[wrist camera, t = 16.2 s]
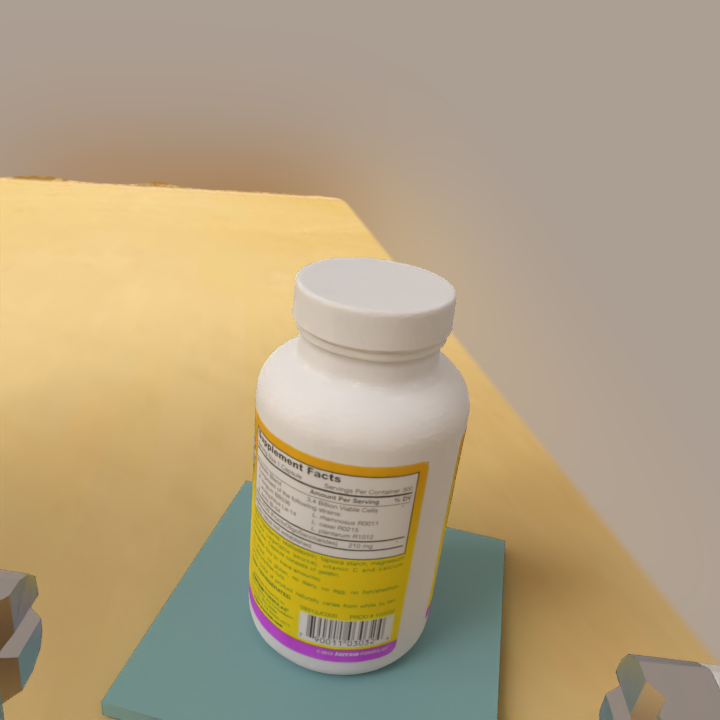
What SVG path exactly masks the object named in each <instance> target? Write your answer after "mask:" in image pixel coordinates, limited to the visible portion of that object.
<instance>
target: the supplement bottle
mask: <svg viewBox="0 0 720 720" xmlns="http://www.w3.org/2000/svg"><path fill="white" fill-rule="evenodd" d="M455 304H456V292H455V289H454V288H453V286H452V285H451V284H450V283H449V282H448V281H447V280H445V279H443V278H442V277H440V276H439V275H437V274H435V273H432V272H430V271H428V270H425V269H423V268H419V267H415V266H412V265H407V264H403V263H398V262H394V261H389V260H383V259H374V258H332V259H326V260H321V261H317V262H314V263H311V264H309V265H307V266H305V267H303V268H302V269H301V270H300V271H299V272H298V273H297V275H296V279H295V291H294V302H293V308H292V314H293V317H294V319H295V321H296V325H297V328H298V330H299V336H297V337H295V338H292V339H291V340H289V341H287V342H286V343H284V344H283V345H281V346H280V347H278V348H277V349H276V350H275V351H274V352H273V353H272V354H271V355H270V356H269V358H268V359H267V360H266V362H265V363H264V365H263V367H262V369H261V371H260V374H259V377H258V381H257V388H256V407H255V436H254V464H253V489H252V516H251V537H250V564H249V606H250V611H251V614H252V618H253V621H254V623H255V625H256V627H257V629H258V631H259V633H260V634H261V636H262V637H263V638H264V640H265V641H266V642H267V643H268V644H269V645H270V646H271V647H272V648H273V649H274V650H276V651H277V652H278V653H279V654H281V655H282V656H283V657H285V658H287V659H288V660H290V661H292V662H293V663H295V664H297V665H299V666H302V667H304V668H307V669H310V670H313V671H316V672H320V673H326V674H334V675H354V674H361V673H366V672H370V671H374V670H377V669H380V668H382V667H385V666H387V665H389V664H391V663H392V662H394V661H396V660H397V659H399V658H400V657H401V656H403V655H404V654H405V653H406V652H407V651H408V650H410V649H411V647H412V646H413V645H414V644H415V643H416V641H417V640H418V638H419V637H420V635H421V633H422V631H423V629H424V626H425V624H426V621H427V617H428V613H429V609H430V605H431V600H432V595H433V590H434V585H435V581H436V575H437V570H438V565H439V559H440V554H441V550H442V545H443V539H444V535H445V530H446V524H447V519H448V514H449V510H450V504H451V500H452V495H453V489H454V484H455V479H456V474H457V469H458V465H459V460H460V455H461V450H462V446H463V441H464V437H465V432H466V427H467V421H468V415H469V406H470V402H469V393H468V390H467V386H466V383H465V381H464V379H463V377H462V375H461V373H460V372H459V370H458V369H457V368H456V366H455V365H454V364H453V363H452V362H451V361H450V360H449V359H448V358H447V357H446V356H445V355H444V354H443V353H441V352H440V348H442V347H443V345H444V344H445V342H446V339H447V337H448V336H449V335H450V333H451V331H452V325H453V318H454V310H455Z"/></svg>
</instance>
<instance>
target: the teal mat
mask: <svg viewBox="0 0 720 720" xmlns="http://www.w3.org/2000/svg"><path fill="white" fill-rule="evenodd" d="M252 489H253V482H250V481H245V483H244V484H243V486H242V487H241V489H240V491H239V492H238V494H237V495H236V497H235V498H234V500H233V501H232V503H231V504H230V506H229V507H228V509H227V510H226V512H225V513H224V515H223V517H222V518H221V520H220V521H219V523H218V524H217V526H216V527H215V529H214V530H213V532H212V533H211V535H210V536H209V538H208V539H207V541H206V542H205V544H204V546H203V547H202V549H201V550H200V552H199V553H198V555H197V556H196V558H195V559H194V561H193V562H192V564H191V565H190V567H189V568H188V570H187V572H186V573H185V575H184V576H183V578H182V579H181V581H180V582H179V584H178V585H177V587H176V588H175V590H174V591H173V593H172V594H171V596H170V598H169V599H168V601H167V602H166V604H165V605H164V607H163V608H162V610H161V611H160V613H159V614H158V616H157V617H156V619H155V620H154V622H153V624H152V625H151V627H150V628H149V630H148V631H147V633H146V634H145V636H144V637H143V639H142V640H141V642H140V643H139V645H138V646H137V648H136V650H135V651H134V653H133V654H132V656H131V657H130V659H129V660H128V662H127V663H126V665H125V666H124V668H123V669H122V671H121V672H120V674H119V676H118V677H117V679H116V680H115V682H114V683H113V685H112V686H111V688H110V689H109V691H108V692H107V694H106V695H105V697H104V698H103V700H102V701H101V703H102V714H103V715H105V716H109V717H112V718H115V719H119V720H497V710H498V687H499V665H500V642H501V619H502V597H503V574H504V551H505V541H503V540H499V539H495V538H491V537H486V536H482V535H478V534H473V533H469V532H465V531H461V530H456V529H452V528H448V527H446V530H445V535H444V539H443V545H442V550H441V554H440V559H439V565H438V570H437V575H436V581H435V585H434V590H433V595H432V600H431V605H430V609H429V613H428V617H427V621H426V624H425V626H424V629H423V631H422V633H421V635H420V637H419V638H418V640H417V641H416V643H415V644H414V645H413V646H412V647H411V649H410V650H408V651H407V652H406V653H405V654H404V655H403V656H401V657H400V658H399V659H397V660H396V661H394V662H392V663H391V664H389V665H387V666H385V667H382V668H380V669H377V670H374V671H370V672H366V673H361V674H354V675H334V674H326V673H320V672H316V671H313V670H310V669H307V668H304V667H302V666H299V665H297V664H295V663H293V662H292V661H290V660H288V659H287V658H285V657H283V656H282V655H281V654H279V653H278V652H277V651H276V650H274V649H273V648H272V647H271V646H270V645H269V644H268V643H267V642H266V641H265V640H264V638H263V637H262V636H261V634H260V633H259V631H258V629H257V627H256V625H255V623H254V621H253V618H252V614H251V611H250V606H249V564H250V537H251V516H252Z"/></svg>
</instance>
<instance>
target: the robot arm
mask: <svg viewBox="0 0 720 720" xmlns="http://www.w3.org/2000/svg"><path fill="white" fill-rule="evenodd" d="M37 596H38V589H37V583H36V577H35V576H33V575H30V574H26V573H20V572H14V571H7V570H1V569H0V720H4V714H3V707H2V704H3V703H4V702H6V701H7V700H8V699H10V698H11V697H13V696H14V695H16V694H17V693H19V692H20V691H22V690H23V688H24V686H25V684H26V682H27V680H28V679H29V677H30V675H31V673H32V671H33V668H34V665H35V662H36V659H37V656H38V653H39V650H40V646H41V638H42V624H41V618H40V617H39V616H38V614H37V613H36V612H35V611H34V610H33V609H32V608H31V606H32V604H33V602H34V601H35V599H36V597H37ZM616 674H617V677H618V680H619V683H620V686H618V687H617V688H615V689H614V690H612V691H610V692H609V693H607V694H606V696H605V698H604V701H603V704H602V706H601V709H600V714H599V720H720V666H719V665H711V664H704V663H701V664H699V663H697V662H690V661H682V660H674V659H666V658H658V657H650V656H641V655H633V654H628V655H627V656H626V657H624V658H623V659H622V660H621V662H620V664H619V666H618V668H617V671H616Z"/></svg>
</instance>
